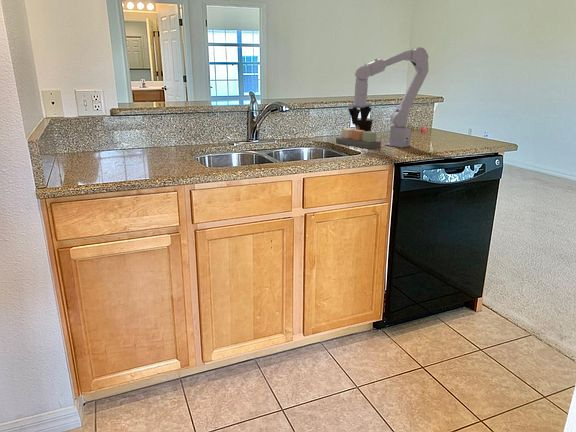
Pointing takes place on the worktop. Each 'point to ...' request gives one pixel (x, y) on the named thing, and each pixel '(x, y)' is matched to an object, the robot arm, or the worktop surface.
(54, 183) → the worktop surface
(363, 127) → the coffee mug
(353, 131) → the block terracotta
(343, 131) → the block cream
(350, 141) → the compartment tray
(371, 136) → the block sage
